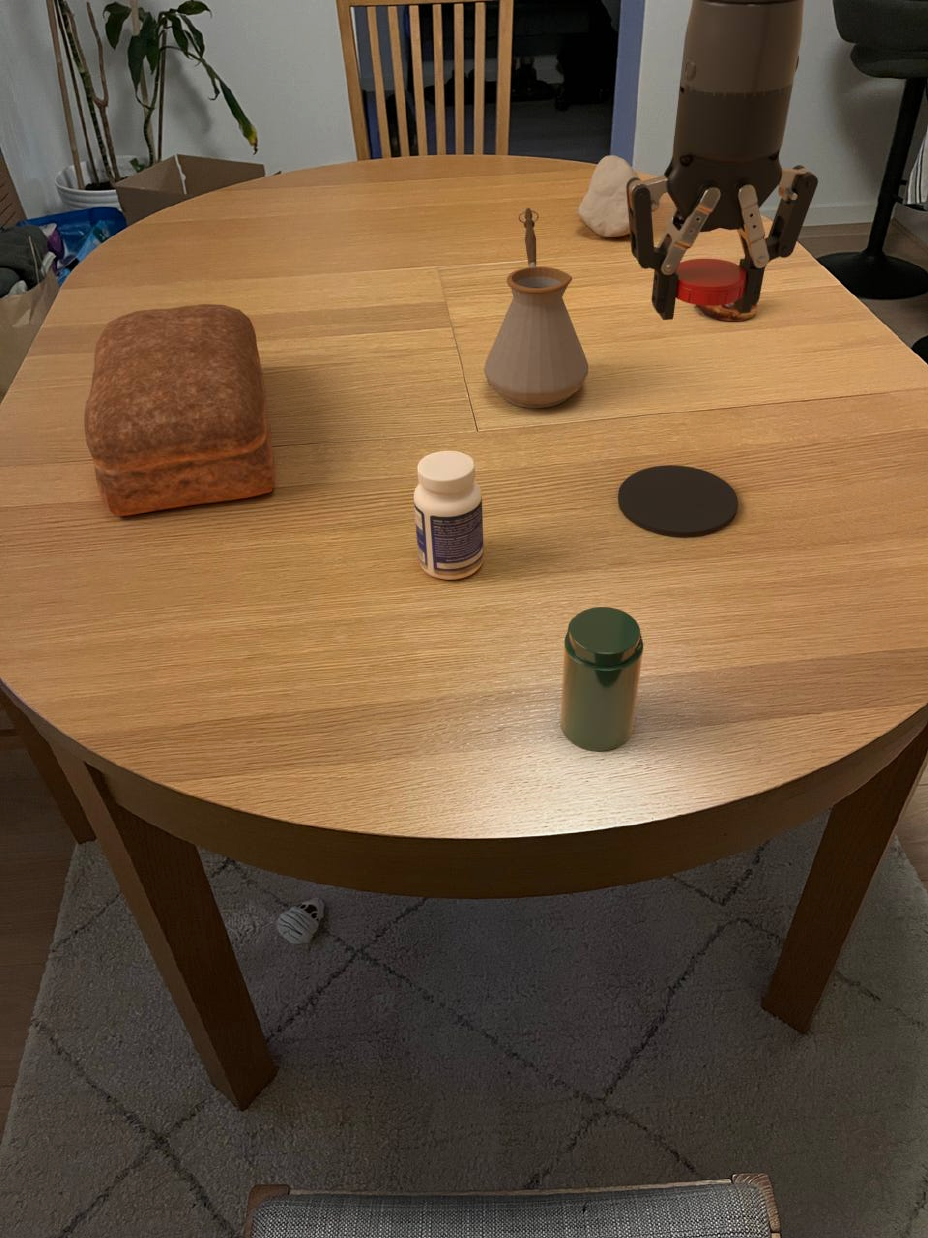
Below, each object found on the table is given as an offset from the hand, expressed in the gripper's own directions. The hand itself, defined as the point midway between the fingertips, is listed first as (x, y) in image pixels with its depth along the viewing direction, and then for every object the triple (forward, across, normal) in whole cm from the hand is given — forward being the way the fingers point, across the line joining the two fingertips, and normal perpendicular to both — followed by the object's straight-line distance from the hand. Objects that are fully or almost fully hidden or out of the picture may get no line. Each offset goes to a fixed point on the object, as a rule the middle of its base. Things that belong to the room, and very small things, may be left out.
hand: (702, 311), depth 74 cm
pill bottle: (+19, +22, +6) cm, 29 cm away
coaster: (+19, 0, 0) cm, 19 cm away
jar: (+19, +13, +26) cm, 34 cm away
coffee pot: (+19, +9, -29) cm, 36 cm away
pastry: (+19, -18, -41) cm, 49 cm away
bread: (+19, +47, -20) cm, 54 cm away
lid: (-3, 0, 0) cm, 3 cm away
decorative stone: (+19, -11, -75) cm, 78 cm away
